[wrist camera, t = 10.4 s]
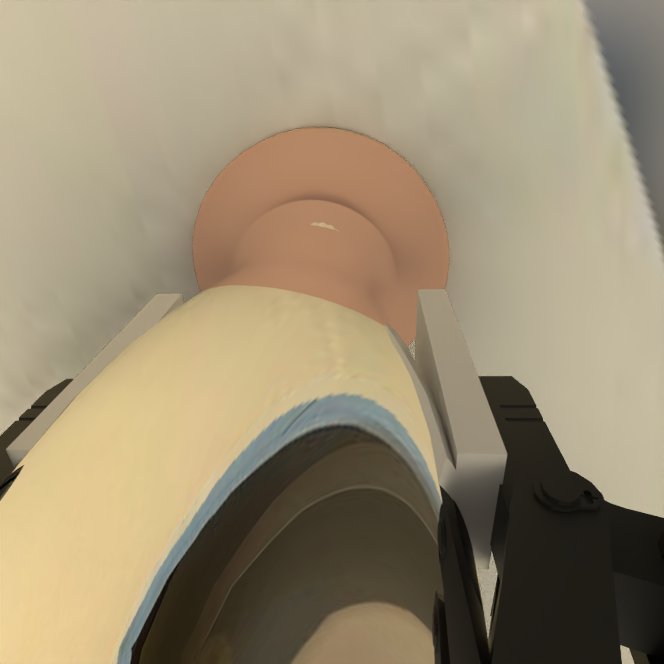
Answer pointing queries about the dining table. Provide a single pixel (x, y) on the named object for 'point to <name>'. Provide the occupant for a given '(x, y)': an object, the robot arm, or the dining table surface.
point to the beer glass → (250, 480)
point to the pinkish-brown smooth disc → (334, 186)
